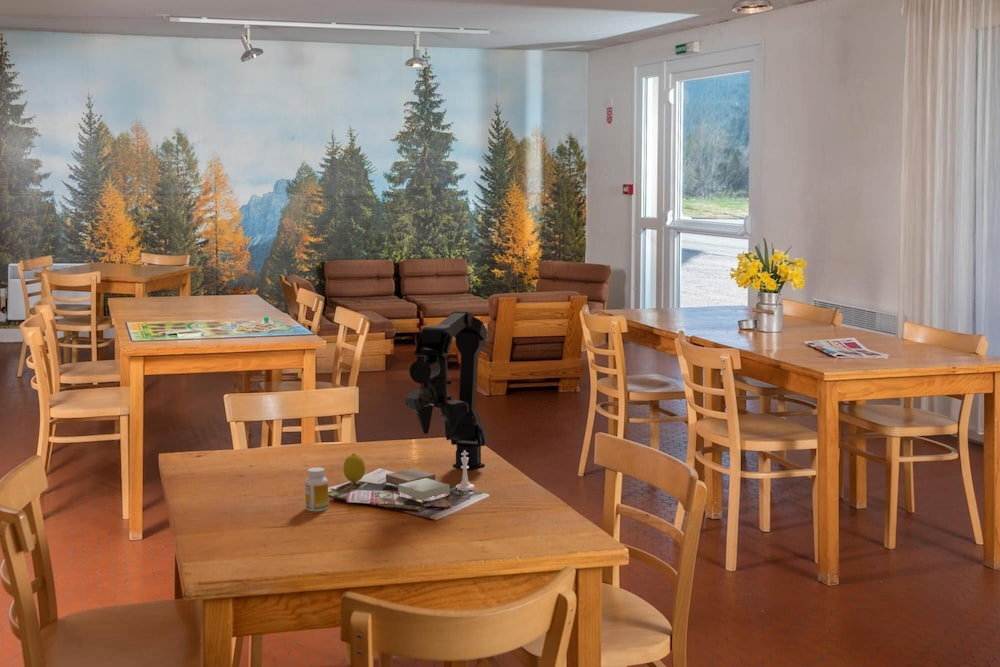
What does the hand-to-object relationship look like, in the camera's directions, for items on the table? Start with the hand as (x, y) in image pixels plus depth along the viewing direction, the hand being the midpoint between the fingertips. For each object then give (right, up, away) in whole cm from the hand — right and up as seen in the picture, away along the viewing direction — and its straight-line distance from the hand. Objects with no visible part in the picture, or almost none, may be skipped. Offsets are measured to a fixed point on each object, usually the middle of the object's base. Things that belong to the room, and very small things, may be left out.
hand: (437, 436), depth 281 cm
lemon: (-22, -13, +6) cm, 26 cm away
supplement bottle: (-28, -16, -16) cm, 36 cm away
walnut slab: (-7, -13, +4) cm, 15 cm away
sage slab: (-3, -14, -6) cm, 16 cm away
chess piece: (+7, -14, +1) cm, 15 cm away
